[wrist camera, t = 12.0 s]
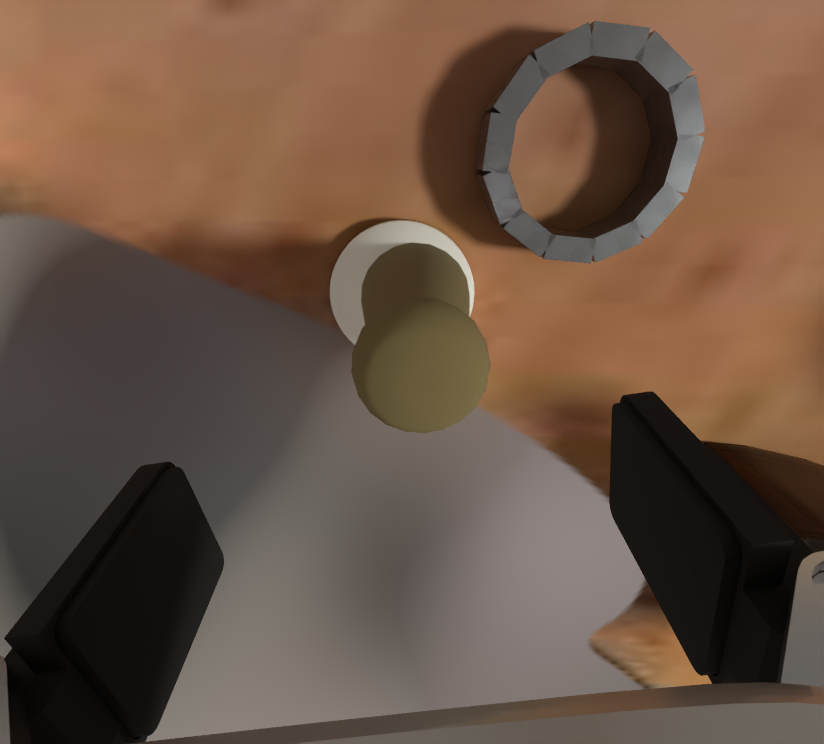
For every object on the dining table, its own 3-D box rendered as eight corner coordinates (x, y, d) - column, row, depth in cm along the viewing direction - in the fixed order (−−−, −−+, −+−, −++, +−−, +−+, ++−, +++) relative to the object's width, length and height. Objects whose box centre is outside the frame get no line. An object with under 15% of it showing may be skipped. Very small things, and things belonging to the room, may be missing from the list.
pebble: (305, 308, 28) (302, 312, 27) (383, 187, 25) (382, 188, 24) (417, 380, 30) (418, 386, 29) (501, 276, 27) (504, 279, 26)
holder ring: (438, 177, 25) (442, 180, 22) (571, -16, 21) (591, -36, 19) (577, 286, 27) (593, 299, 25) (715, 128, 24) (747, 126, 22)
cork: (342, 267, 26) (304, 340, 16) (448, 224, 25) (478, 273, 15) (385, 362, 28) (375, 478, 18) (483, 327, 27) (529, 428, 17)
